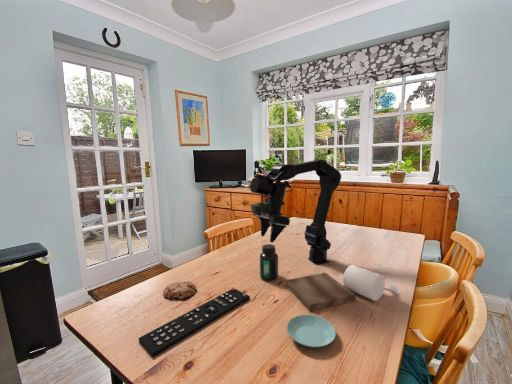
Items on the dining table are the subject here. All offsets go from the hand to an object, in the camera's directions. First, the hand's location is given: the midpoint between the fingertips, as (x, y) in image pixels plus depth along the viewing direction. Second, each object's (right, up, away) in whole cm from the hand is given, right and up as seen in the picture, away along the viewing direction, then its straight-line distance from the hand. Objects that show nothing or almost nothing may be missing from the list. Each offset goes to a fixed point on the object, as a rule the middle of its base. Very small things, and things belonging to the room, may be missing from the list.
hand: (266, 239), depth 95 cm
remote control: (-19, -19, -22) cm, 35 cm away
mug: (+32, -16, -10) cm, 37 cm away
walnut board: (+17, -16, -10) cm, 25 cm away
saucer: (+10, -19, -30) cm, 37 cm away
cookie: (-30, -17, -8) cm, 35 cm away
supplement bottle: (+1, -15, +1) cm, 15 cm away
